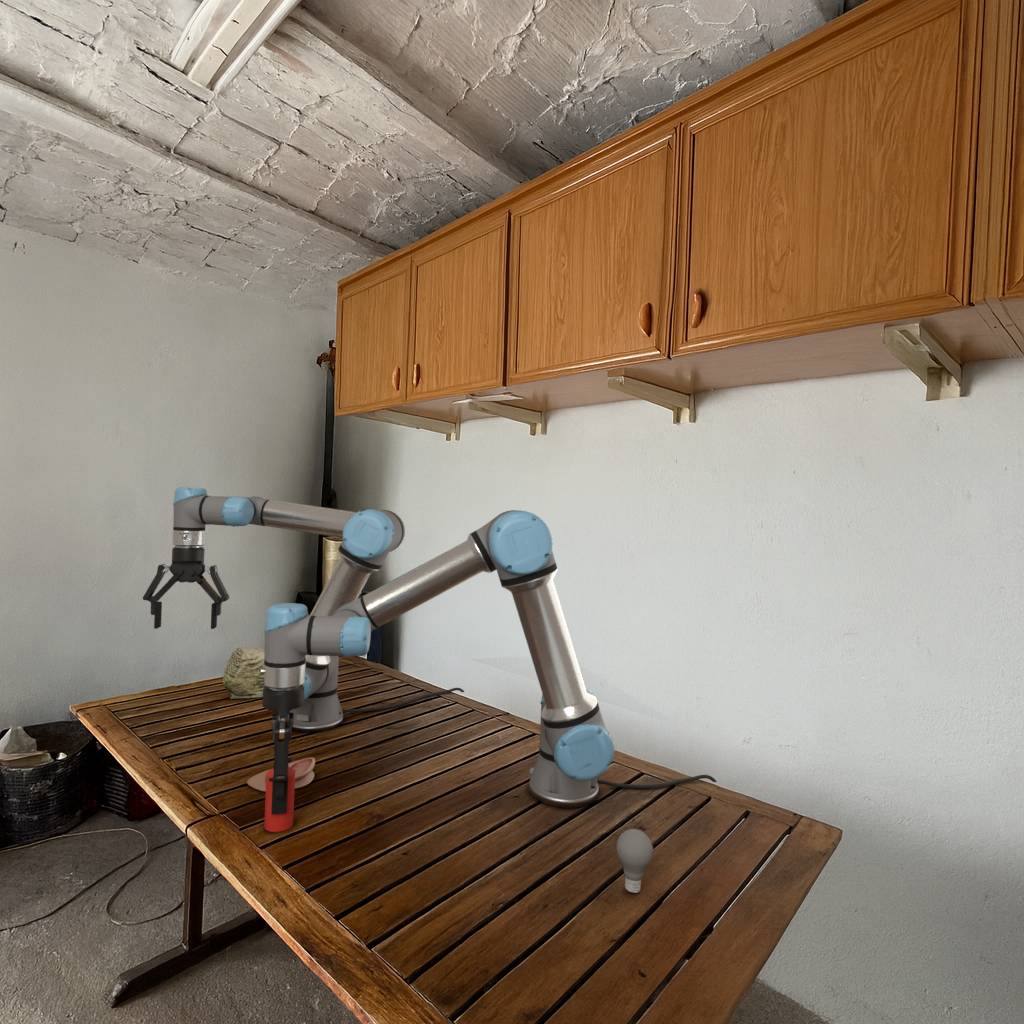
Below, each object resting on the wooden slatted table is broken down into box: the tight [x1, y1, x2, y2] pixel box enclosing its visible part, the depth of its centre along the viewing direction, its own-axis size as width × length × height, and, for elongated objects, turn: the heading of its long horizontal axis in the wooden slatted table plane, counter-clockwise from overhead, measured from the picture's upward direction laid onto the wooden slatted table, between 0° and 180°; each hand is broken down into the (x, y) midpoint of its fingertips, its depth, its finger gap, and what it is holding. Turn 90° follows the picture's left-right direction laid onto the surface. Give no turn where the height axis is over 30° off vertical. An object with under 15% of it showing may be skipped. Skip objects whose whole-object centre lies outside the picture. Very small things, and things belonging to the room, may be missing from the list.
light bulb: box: [615, 828, 654, 894], centre depth 106 cm, size 6×6×10 cm
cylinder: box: [263, 767, 296, 833], centre depth 122 cm, size 5×5×10 cm
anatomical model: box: [246, 757, 316, 792], centre depth 140 cm, size 13×4×12 cm
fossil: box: [222, 646, 265, 699], centre depth 198 cm, size 9×18×15 cm, turn 132°
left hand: (185, 627), depth 165 cm, fingers open, 13 cm apart
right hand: (279, 805), depth 122 cm, fingers closed on cylinder, 5 cm apart
